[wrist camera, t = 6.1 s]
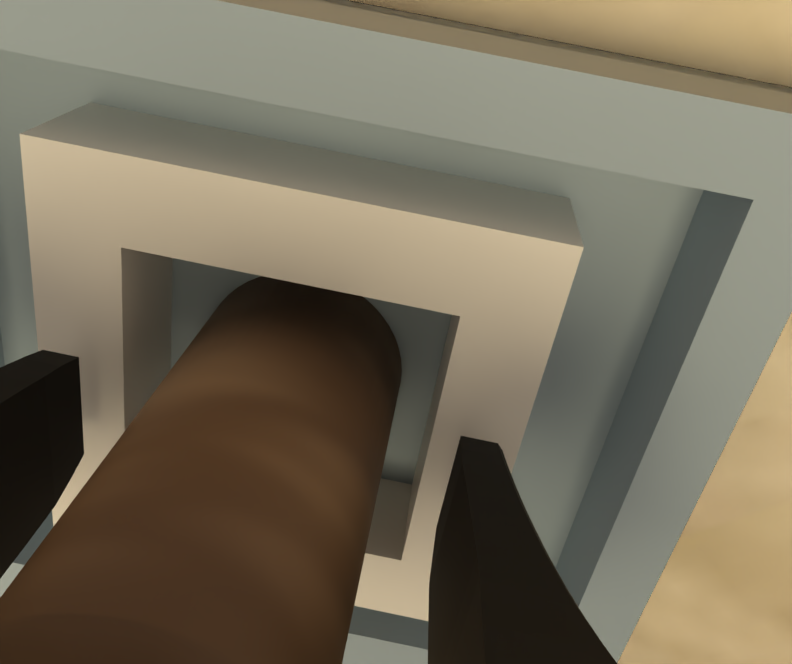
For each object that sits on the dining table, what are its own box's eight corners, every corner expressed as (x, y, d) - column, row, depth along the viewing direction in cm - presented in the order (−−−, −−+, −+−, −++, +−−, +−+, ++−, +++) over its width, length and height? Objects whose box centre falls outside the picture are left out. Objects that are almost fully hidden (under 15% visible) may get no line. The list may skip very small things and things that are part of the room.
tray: (802, 89, 12) (881, 131, 10) (575, 616, 18) (588, 721, 16) (-85, -86, 12) (-227, -88, 10) (-6, 495, 19) (-80, 580, 16)
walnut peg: (426, 308, 14) (359, 687, 7) (372, 467, 16) (275, 888, 9) (222, 245, 14) (-60, 563, 7) (192, 412, 16) (-51, 795, 9)
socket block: (569, 198, 13) (583, 247, 11) (464, 547, 17) (461, 628, 15) (90, 102, 13) (19, 133, 11) (104, 472, 17) (54, 542, 15)
